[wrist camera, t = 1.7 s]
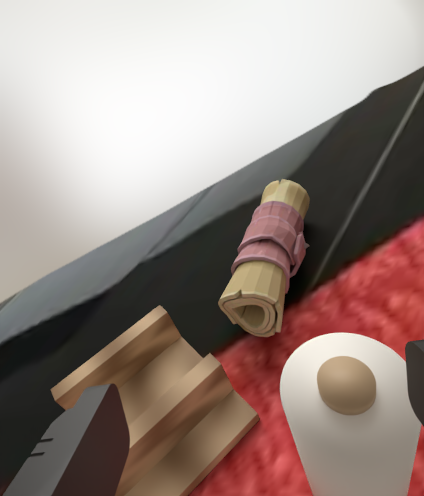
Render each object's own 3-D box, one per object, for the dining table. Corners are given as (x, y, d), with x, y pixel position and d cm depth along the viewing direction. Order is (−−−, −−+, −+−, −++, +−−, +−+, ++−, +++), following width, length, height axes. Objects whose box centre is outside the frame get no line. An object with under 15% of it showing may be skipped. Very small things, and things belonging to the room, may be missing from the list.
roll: (344, 433, 25) (330, 306, 16) (420, 497, 21) (454, 375, 12) (296, 492, 23) (251, 384, 14) (370, 574, 19) (369, 495, 11)
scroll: (308, 340, 30) (333, 209, 44) (259, 286, 28) (301, 164, 41) (244, 349, 35) (284, 229, 49) (198, 304, 33) (253, 190, 46)
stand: (163, 320, 39) (146, 291, 36) (260, 419, 28) (246, 388, 25) (70, 394, 35) (42, 368, 32) (139, 547, 23) (105, 528, 20)
